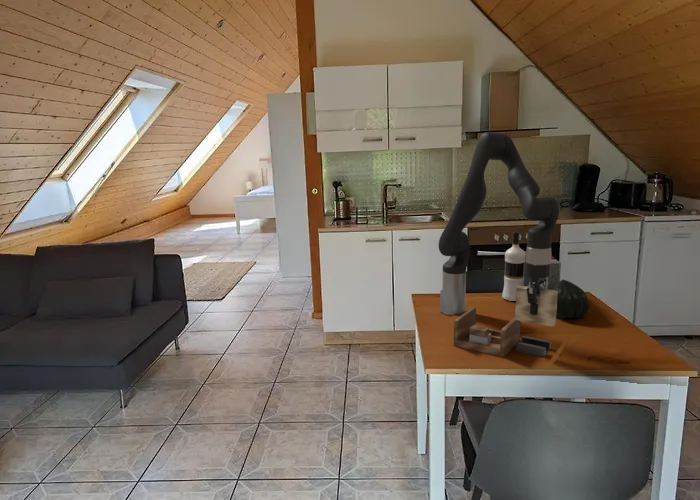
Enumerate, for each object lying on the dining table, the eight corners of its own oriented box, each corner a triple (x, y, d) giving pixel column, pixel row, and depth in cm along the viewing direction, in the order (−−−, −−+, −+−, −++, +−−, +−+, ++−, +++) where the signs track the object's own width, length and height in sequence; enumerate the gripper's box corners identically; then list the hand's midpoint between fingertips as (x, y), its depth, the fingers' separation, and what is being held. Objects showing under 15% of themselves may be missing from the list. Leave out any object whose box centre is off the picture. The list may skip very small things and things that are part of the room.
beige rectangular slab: (514, 319, 159) (516, 287, 157) (517, 317, 161) (519, 285, 159) (553, 326, 152) (555, 293, 150) (555, 323, 154) (557, 290, 152)
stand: (515, 353, 158) (515, 343, 157) (522, 345, 164) (523, 335, 164) (543, 359, 153) (544, 349, 152) (550, 351, 159) (551, 341, 159)
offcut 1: (469, 334, 161) (469, 328, 161) (474, 330, 164) (474, 324, 163) (484, 337, 158) (484, 331, 157) (488, 334, 161) (489, 328, 160)
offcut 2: (469, 340, 161) (469, 334, 161) (473, 336, 165) (473, 330, 164) (487, 344, 158) (487, 338, 158) (490, 340, 161) (491, 333, 161)
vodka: (500, 301, 210) (503, 233, 204) (504, 294, 218) (506, 229, 212) (522, 303, 206) (526, 234, 200) (525, 297, 214) (529, 230, 208)
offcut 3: (468, 346, 162) (468, 340, 162) (473, 342, 165) (473, 336, 165) (485, 350, 158) (485, 344, 158) (490, 346, 162) (490, 340, 161)
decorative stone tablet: (563, 261, 194) (548, 251, 224) (545, 260, 196) (533, 251, 225) (560, 308, 197) (546, 292, 226) (543, 307, 198) (531, 291, 227)
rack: (453, 348, 163) (454, 320, 161) (472, 333, 176) (472, 306, 174) (503, 360, 154) (504, 330, 151) (519, 343, 166) (520, 315, 164)
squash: (594, 312, 178) (588, 275, 185) (550, 311, 182) (547, 275, 189) (586, 326, 190) (581, 291, 197) (545, 325, 194) (542, 291, 201)
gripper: (532, 255, 160) (529, 305, 164) (519, 264, 149) (516, 317, 153) (556, 257, 156) (553, 308, 159) (544, 267, 145) (541, 321, 148)
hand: (535, 312), depth 156 cm, fingers closed on beige rectangular slab, 3 cm apart
